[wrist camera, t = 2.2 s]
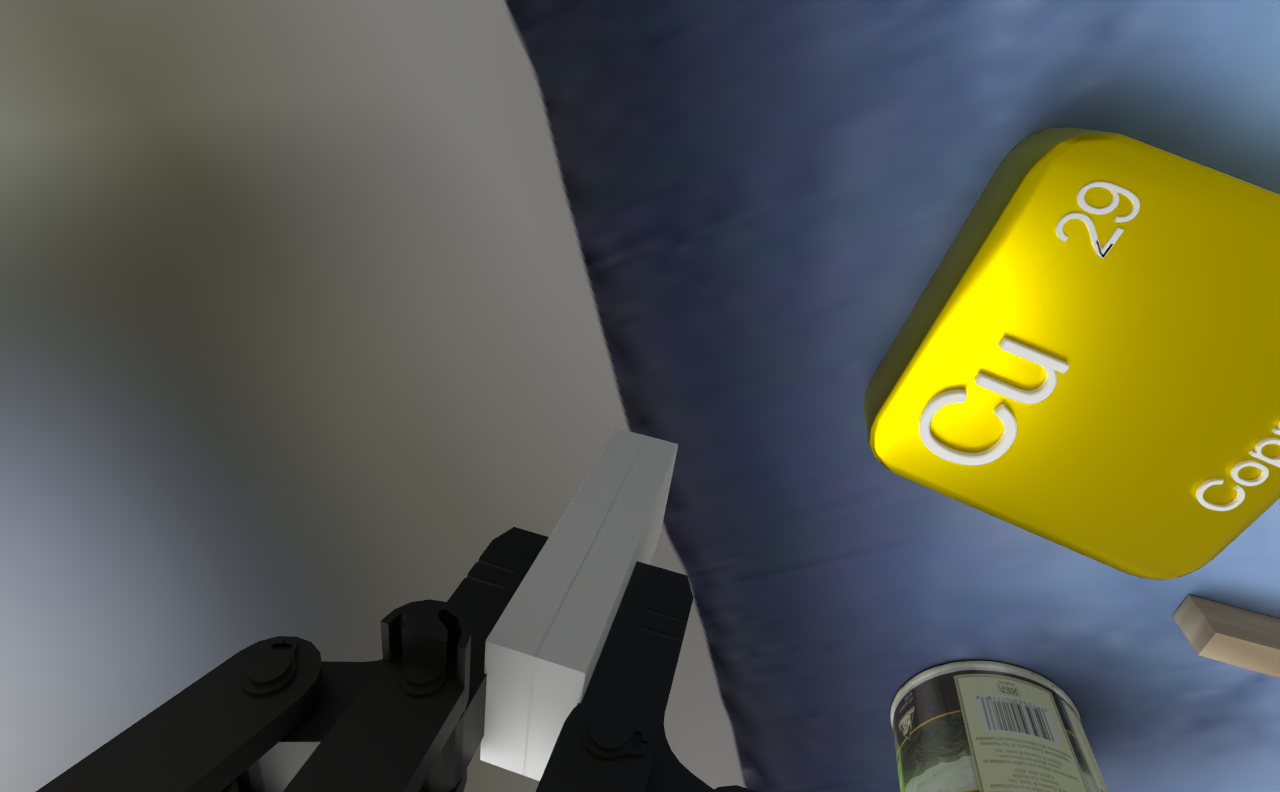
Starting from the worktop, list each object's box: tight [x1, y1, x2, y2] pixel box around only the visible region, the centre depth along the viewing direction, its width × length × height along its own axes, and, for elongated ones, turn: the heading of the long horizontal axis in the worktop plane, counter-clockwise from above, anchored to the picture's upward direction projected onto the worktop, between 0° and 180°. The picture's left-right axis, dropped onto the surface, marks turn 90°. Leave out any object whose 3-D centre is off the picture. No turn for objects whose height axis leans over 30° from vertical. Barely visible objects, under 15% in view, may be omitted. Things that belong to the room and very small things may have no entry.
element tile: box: [864, 127, 1280, 580], centre depth 26 cm, size 15×15×5 cm
